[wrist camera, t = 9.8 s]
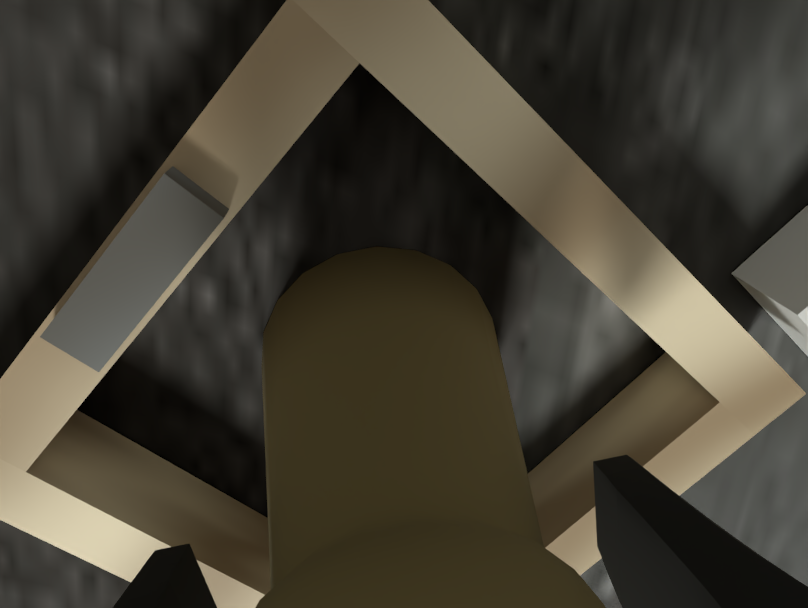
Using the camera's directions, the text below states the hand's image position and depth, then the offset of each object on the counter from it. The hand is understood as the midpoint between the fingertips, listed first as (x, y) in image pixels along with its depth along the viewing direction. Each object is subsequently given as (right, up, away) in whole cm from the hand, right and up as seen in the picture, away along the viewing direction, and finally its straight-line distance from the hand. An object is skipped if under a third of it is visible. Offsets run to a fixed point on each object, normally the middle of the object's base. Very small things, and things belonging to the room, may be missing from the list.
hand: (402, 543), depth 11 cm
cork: (-1, +3, +5) cm, 6 cm away
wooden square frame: (-1, +2, +5) cm, 6 cm away
